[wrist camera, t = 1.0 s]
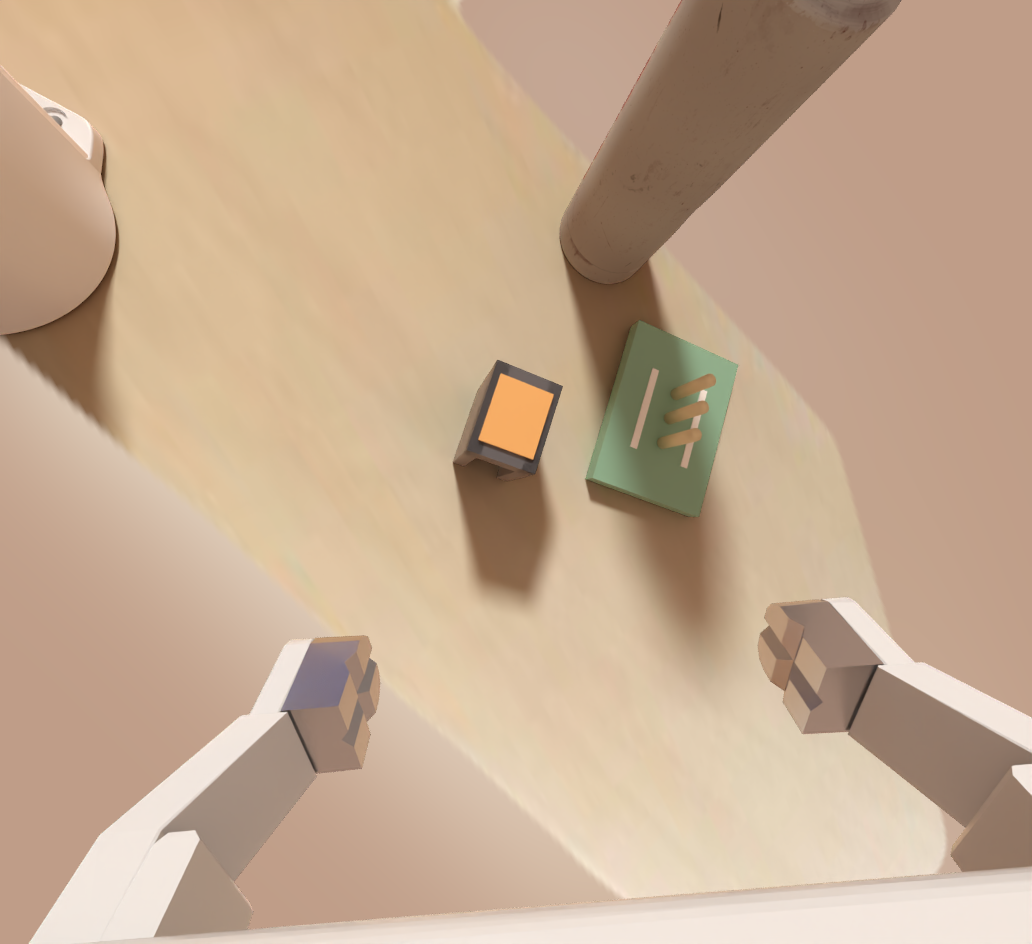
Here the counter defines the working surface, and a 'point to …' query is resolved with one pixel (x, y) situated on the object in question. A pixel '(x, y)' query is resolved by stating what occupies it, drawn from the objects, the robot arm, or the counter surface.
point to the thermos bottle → (703, 118)
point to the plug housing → (509, 421)
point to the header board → (663, 420)
